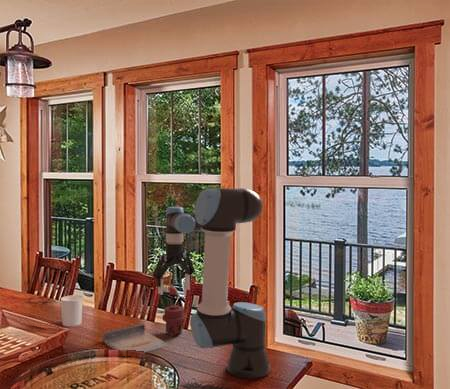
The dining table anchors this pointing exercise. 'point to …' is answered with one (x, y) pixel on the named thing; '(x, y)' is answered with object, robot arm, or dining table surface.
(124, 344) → the rack plate
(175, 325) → the mechanical component
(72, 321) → the candle holder
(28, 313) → the dining table surface
